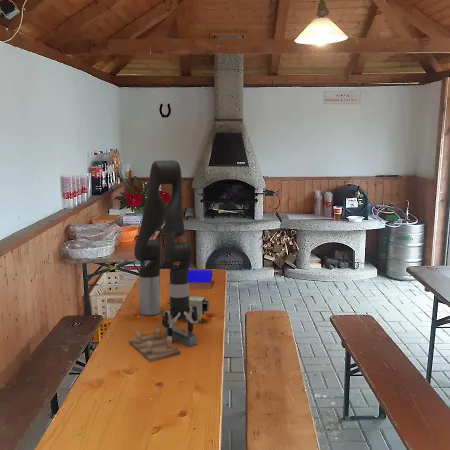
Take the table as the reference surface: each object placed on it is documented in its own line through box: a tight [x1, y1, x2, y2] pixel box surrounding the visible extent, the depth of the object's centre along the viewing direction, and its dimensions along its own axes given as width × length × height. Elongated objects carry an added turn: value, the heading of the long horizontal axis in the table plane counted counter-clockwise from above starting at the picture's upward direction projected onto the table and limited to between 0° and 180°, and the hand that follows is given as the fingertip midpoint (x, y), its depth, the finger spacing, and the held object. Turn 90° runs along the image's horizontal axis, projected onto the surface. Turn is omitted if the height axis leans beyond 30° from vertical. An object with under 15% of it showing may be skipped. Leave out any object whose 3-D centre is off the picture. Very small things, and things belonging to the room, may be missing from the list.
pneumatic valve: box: [188, 295, 210, 324], centre depth 205 cm, size 6×12×12 cm, turn 79°
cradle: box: [128, 327, 181, 363], centre depth 179 cm, size 20×12×5 cm, turn 33°
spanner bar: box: [163, 324, 198, 348], centre depth 187 cm, size 16×4×4 cm, turn 43°
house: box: [188, 269, 213, 290], centre depth 251 cm, size 12×20×12 cm, turn 88°
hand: (180, 334), depth 187 cm, fingers open, 8 cm apart
